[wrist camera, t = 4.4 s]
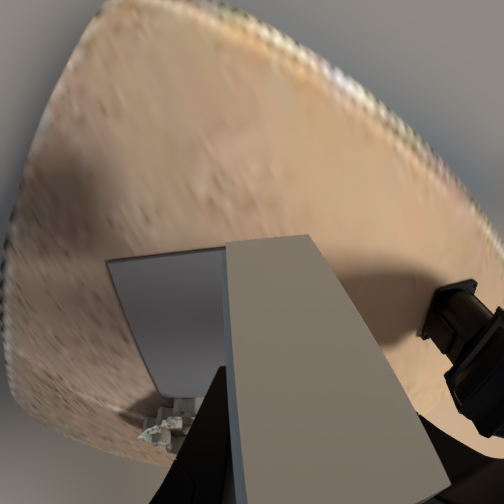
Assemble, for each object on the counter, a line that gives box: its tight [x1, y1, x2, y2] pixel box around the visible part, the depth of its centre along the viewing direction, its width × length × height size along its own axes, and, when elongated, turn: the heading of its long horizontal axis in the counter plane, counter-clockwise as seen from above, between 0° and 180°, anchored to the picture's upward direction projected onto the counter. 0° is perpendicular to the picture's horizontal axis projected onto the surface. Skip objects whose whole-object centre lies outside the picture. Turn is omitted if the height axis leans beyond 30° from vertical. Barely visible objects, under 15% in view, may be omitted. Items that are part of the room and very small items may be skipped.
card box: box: [221, 234, 451, 504], centre depth 7 cm, size 3×6×8 cm, turn 4°
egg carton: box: [138, 397, 203, 457], centre depth 28 cm, size 11×8×4 cm
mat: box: [108, 247, 226, 398], centre depth 24 cm, size 14×16×1 cm
